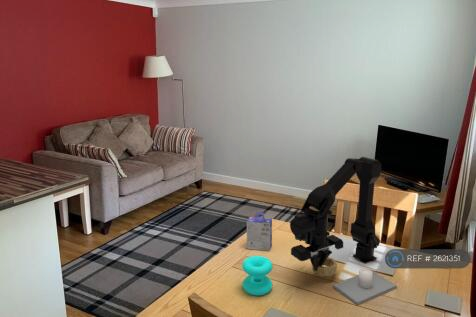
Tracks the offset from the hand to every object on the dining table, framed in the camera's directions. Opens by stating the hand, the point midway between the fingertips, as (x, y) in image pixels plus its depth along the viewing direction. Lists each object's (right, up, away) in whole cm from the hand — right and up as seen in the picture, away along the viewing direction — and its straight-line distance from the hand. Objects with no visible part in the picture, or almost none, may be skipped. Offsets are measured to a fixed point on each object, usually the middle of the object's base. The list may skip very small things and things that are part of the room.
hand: (316, 269), depth 131 cm
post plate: (+15, -5, -4) cm, 16 cm away
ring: (+3, -1, +2) cm, 4 cm away
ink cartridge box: (-18, +2, +24) cm, 31 cm away
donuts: (-21, -5, -3) cm, 22 cm away
